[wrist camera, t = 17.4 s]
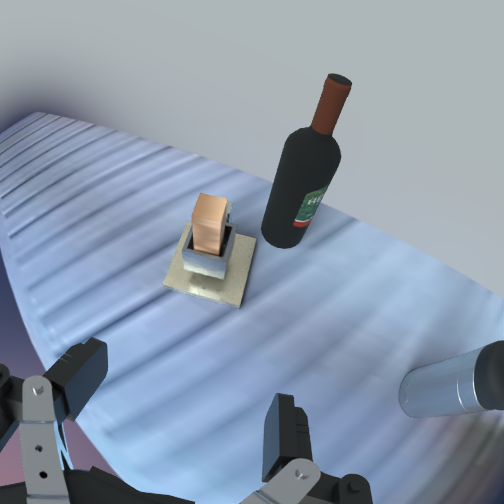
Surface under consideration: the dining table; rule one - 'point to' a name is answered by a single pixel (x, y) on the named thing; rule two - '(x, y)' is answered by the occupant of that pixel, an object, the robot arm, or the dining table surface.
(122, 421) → the dining table surface
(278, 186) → the wine bottle
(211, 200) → the tan wooden block
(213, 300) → the cup bracket
